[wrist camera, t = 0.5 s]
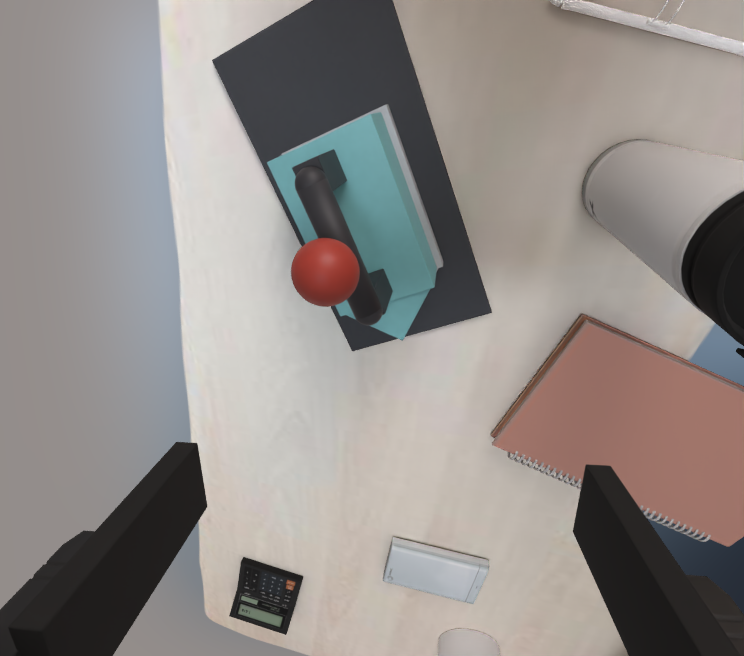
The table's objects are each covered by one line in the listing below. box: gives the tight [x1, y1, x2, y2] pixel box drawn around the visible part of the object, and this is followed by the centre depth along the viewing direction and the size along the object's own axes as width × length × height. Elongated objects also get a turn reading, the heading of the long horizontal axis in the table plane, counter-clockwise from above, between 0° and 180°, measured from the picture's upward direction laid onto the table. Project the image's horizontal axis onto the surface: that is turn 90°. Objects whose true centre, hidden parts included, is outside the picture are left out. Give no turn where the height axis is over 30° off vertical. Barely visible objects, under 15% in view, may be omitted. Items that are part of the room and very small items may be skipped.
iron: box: [267, 104, 443, 340], centre depth 30 cm, size 17×9×16 cm, turn 22°
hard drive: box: [383, 537, 489, 604], centre depth 56 cm, size 2×8×12 cm
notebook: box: [491, 314, 744, 547], centre depth 41 cm, size 27×17×2 cm, turn 68°
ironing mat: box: [212, 0, 492, 351], centre depth 36 cm, size 14×27×1 cm, turn 22°
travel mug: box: [582, 139, 744, 358], centre depth 23 cm, size 6×7×20 cm
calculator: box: [229, 557, 303, 635], centre depth 65 cm, size 9×12×3 cm
